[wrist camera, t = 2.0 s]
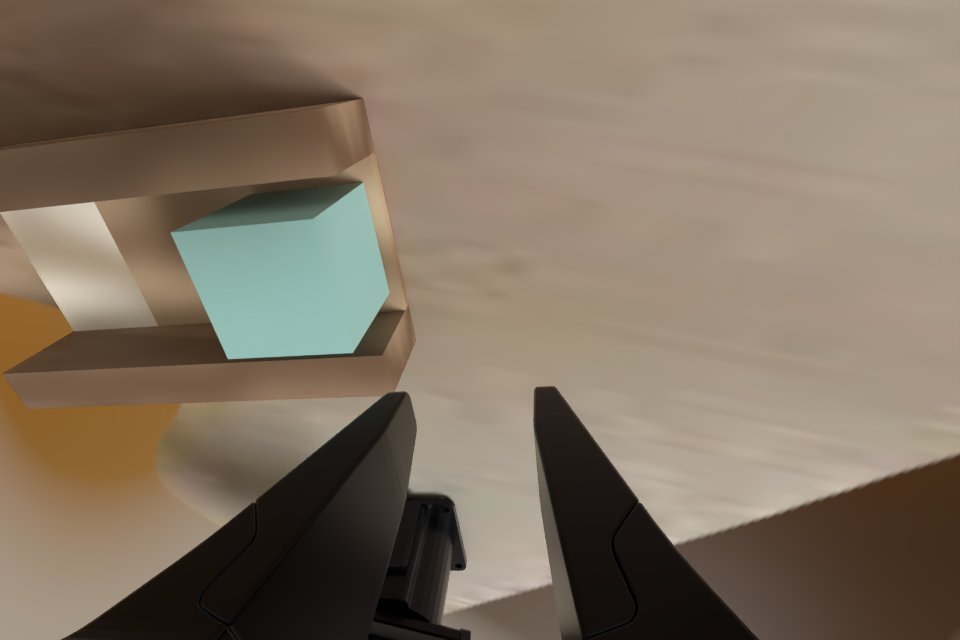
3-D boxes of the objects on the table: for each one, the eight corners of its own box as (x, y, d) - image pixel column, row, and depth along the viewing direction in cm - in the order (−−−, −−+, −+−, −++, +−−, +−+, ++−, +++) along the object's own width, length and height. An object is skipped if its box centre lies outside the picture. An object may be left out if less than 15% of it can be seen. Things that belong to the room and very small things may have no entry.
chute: (415, 340, 23) (392, 395, 19) (102, 356, 26) (27, 408, 22) (363, 98, 18) (317, 109, 14) (-24, 149, 21) (-151, 170, 17)
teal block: (389, 293, 21) (352, 352, 17) (288, 300, 22) (228, 359, 18) (363, 182, 19) (313, 218, 15) (250, 194, 20) (170, 232, 15)
